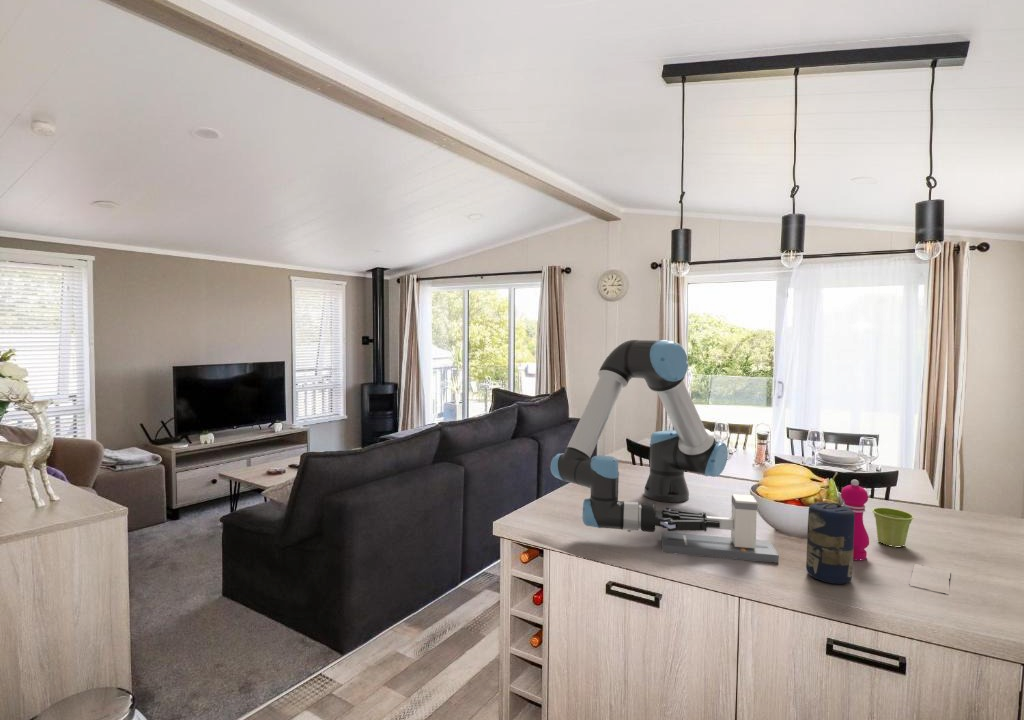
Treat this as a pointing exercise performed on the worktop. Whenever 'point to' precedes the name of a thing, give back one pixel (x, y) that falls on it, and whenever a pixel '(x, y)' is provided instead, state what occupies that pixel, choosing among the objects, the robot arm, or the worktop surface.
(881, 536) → the plant pot
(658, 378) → the robot arm
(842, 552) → the canister
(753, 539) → the fader knob
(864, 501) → the pepper mill
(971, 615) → the worktop surface
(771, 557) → the fader console
